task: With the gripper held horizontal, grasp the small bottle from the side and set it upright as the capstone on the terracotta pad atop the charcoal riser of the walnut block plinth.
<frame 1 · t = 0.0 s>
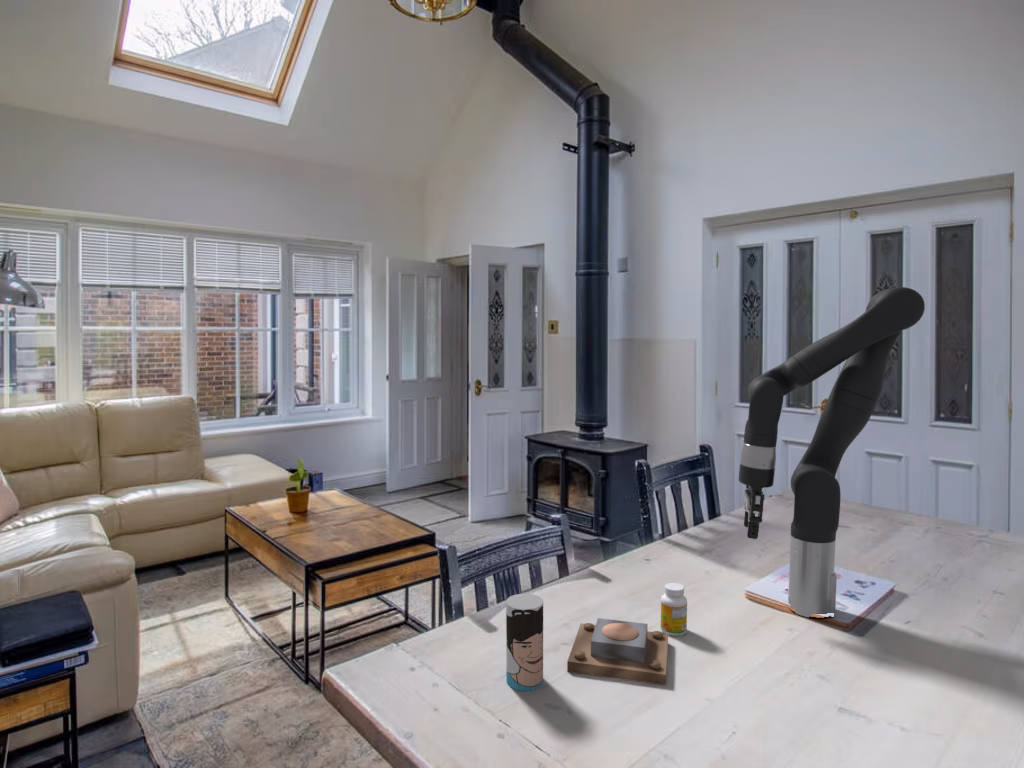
hand: (750, 532, 147), 17 cm above the table, tool pointing down, fingers open, 8 cm apart
plinth: (619, 656, 125), on the table
supplement bottle: (673, 631, 136), on the table
printed can: (524, 681, 116), on the table
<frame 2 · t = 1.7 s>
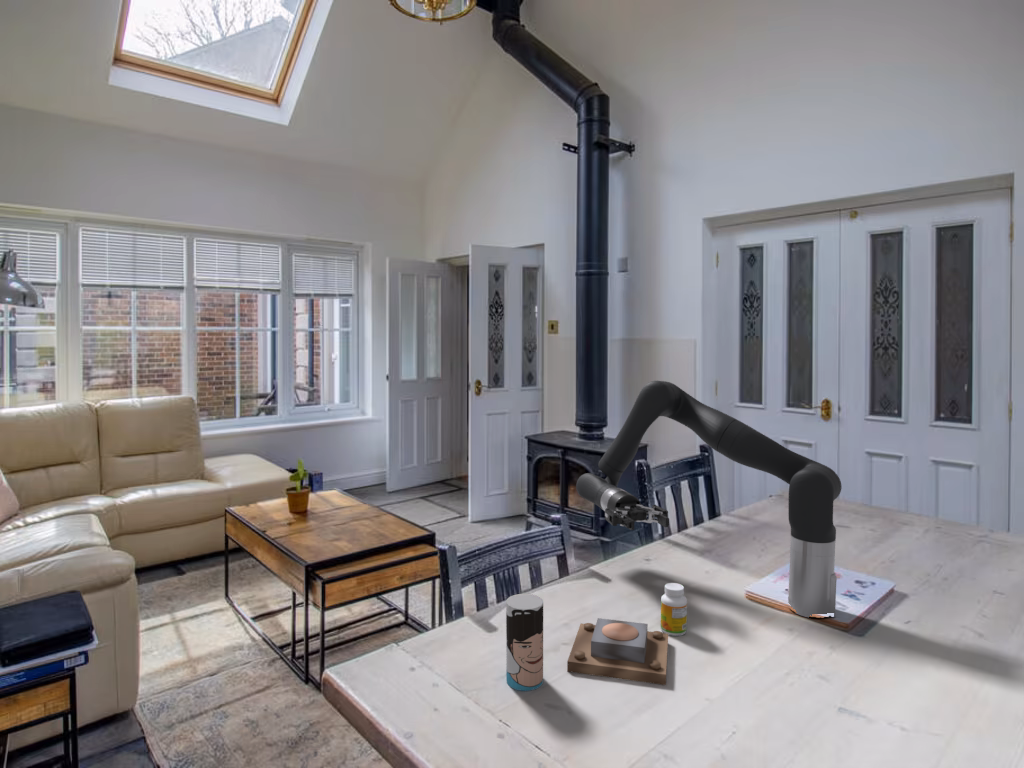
hand: (650, 524, 145), 20 cm above the table, tool horizontal, fingers open, 8 cm apart
nothing on the table moved.
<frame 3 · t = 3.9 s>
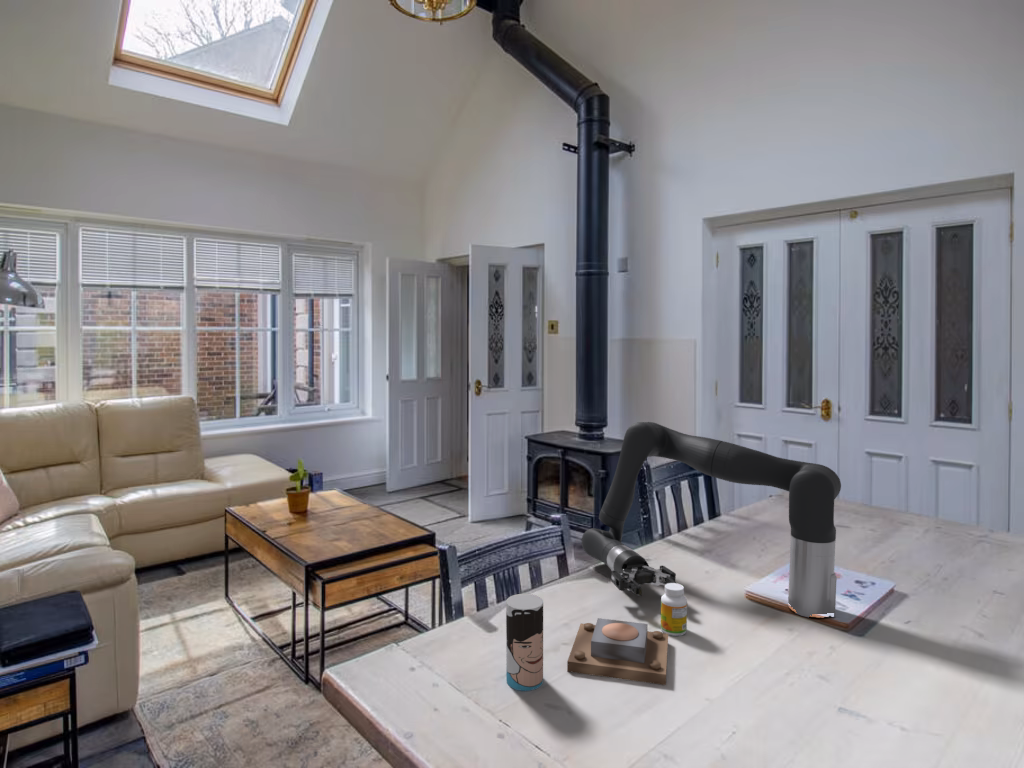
hand: (658, 589, 142), 6 cm above the table, tool horizontal, fingers open, 8 cm apart
nothing on the table moved.
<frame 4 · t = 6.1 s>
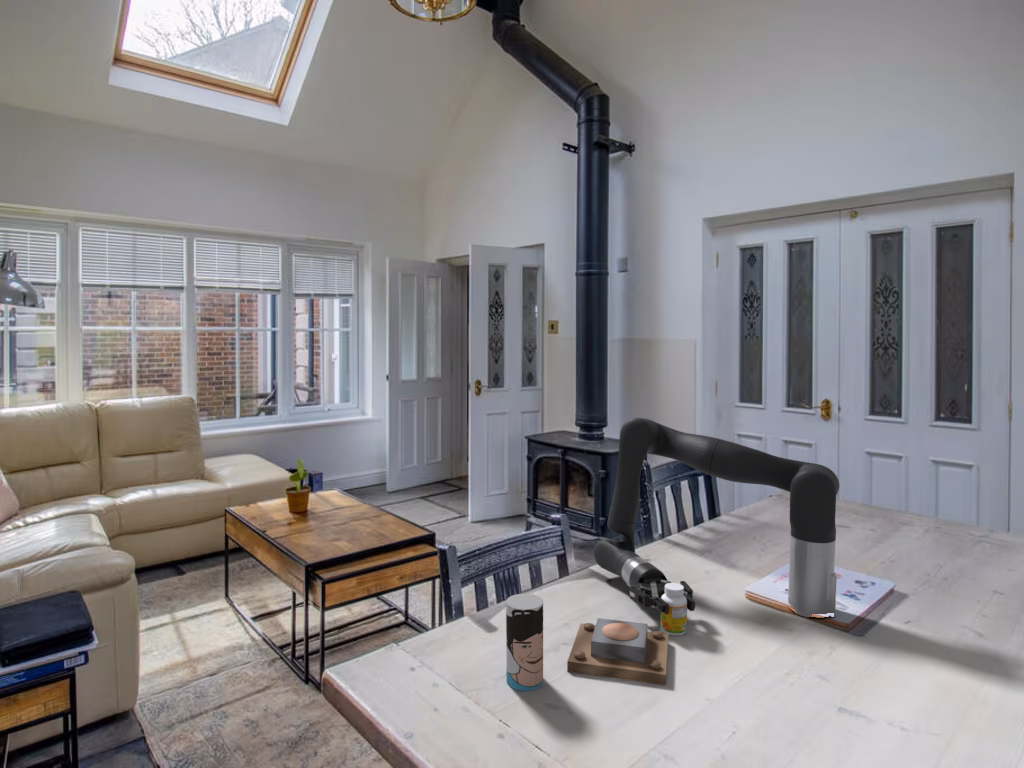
hand: (680, 608, 133), 6 cm above the table, tool horizontal, fingers closed on supplement bottle, 5 cm apart
supplement bottle: (673, 631, 136), on the table, touching gripper
everything else where it was.
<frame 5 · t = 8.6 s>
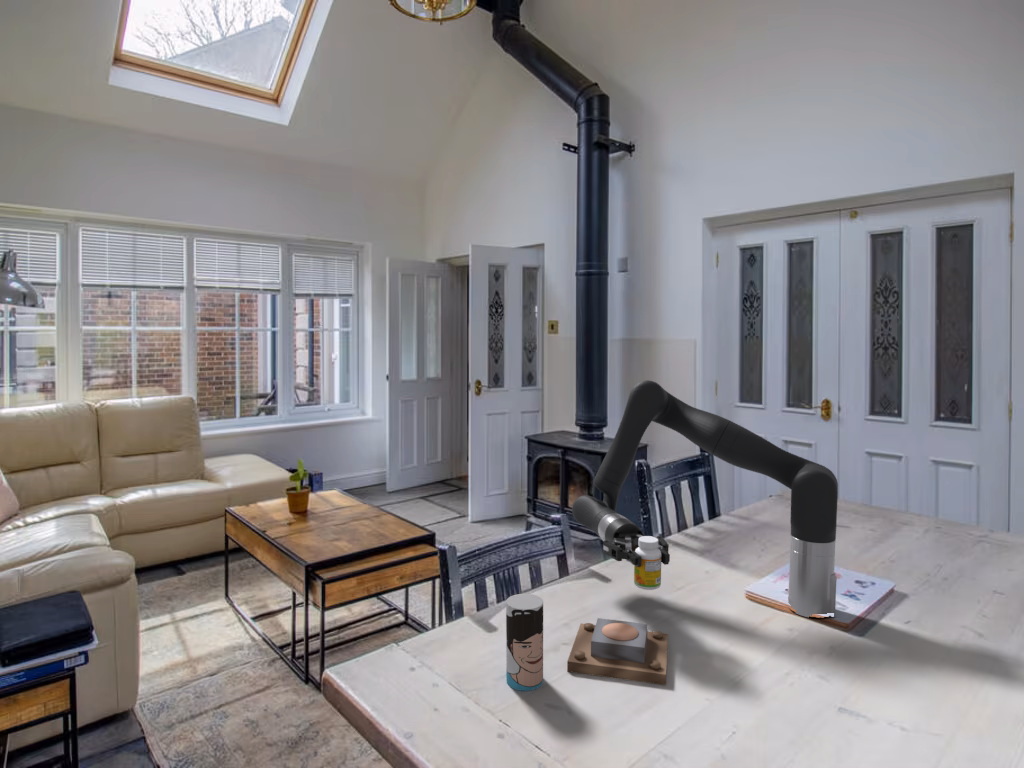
hand: (653, 561, 127), 18 cm above the table, tool horizontal, fingers closed on supplement bottle, 5 cm apart
supplement bottle: (647, 585, 130), point 12 cm above the table, touching gripper
everything else where it was.
when the fingers open (12 cm above the table, at t = 11.0 s): supplement bottle stays where it is, resting on plinth.
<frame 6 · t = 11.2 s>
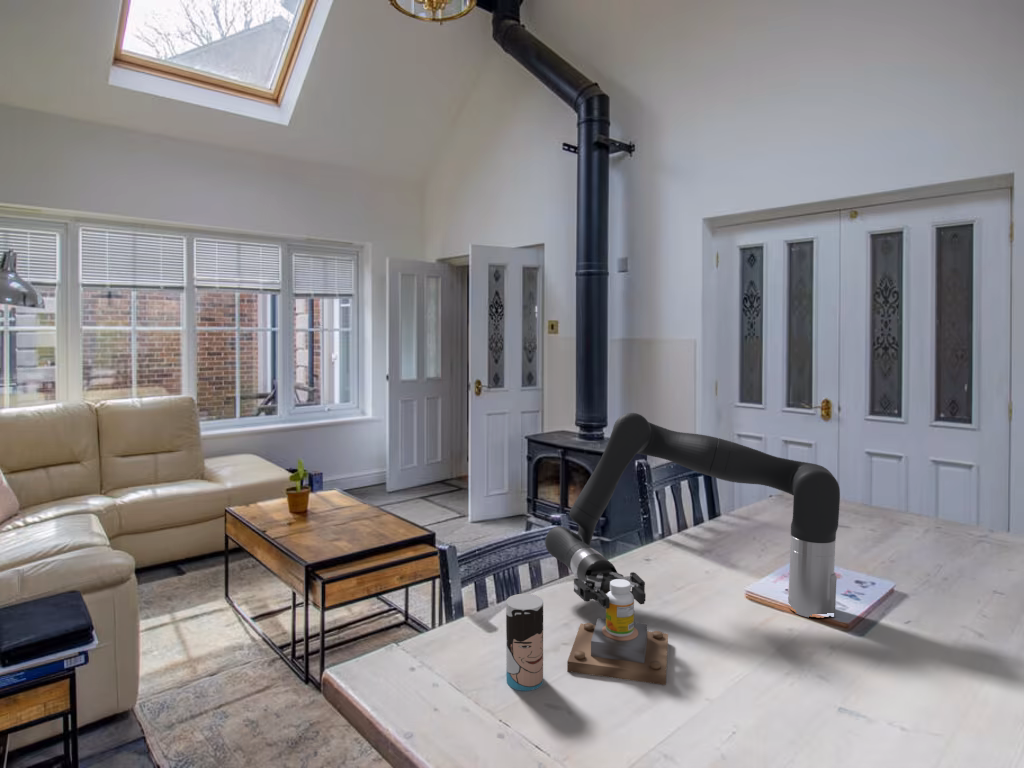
hand: (625, 601, 122), 12 cm above the table, tool horizontal, fingers open, 6 cm apart
supplement bottle: (619, 631, 124), point 5 cm above the table, touching plinth
everything else where it was.
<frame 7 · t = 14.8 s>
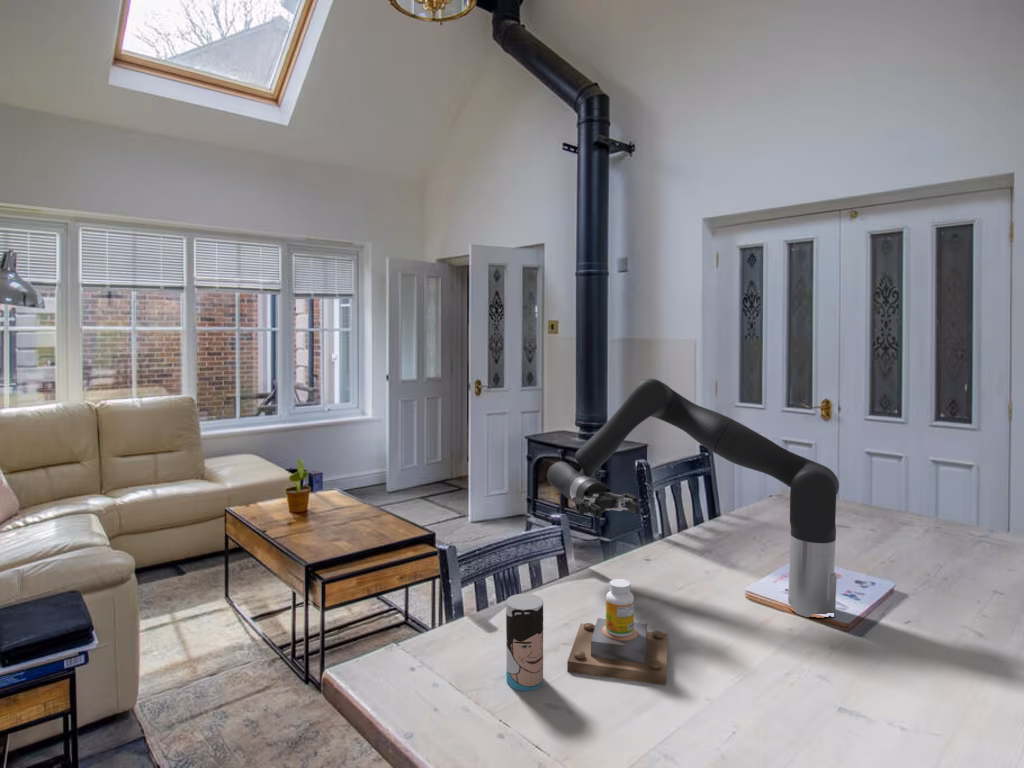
hand: (618, 511, 137), 25 cm above the table, tool horizontal, fingers open, 8 cm apart
nothing on the table moved.
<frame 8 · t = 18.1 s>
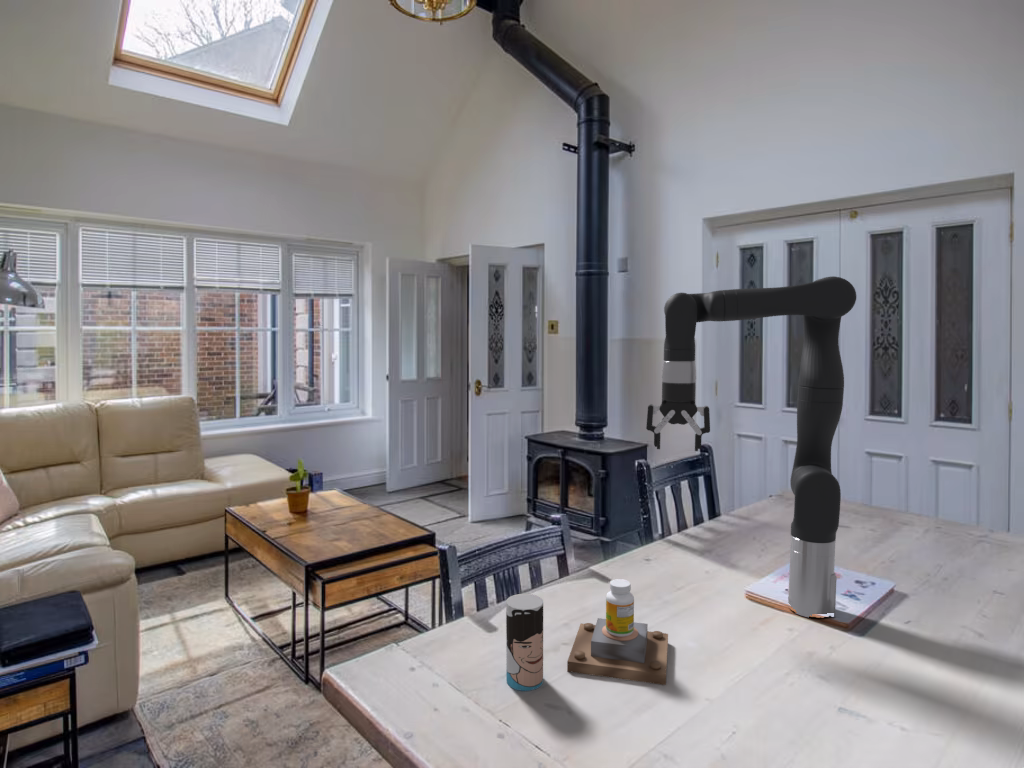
hand: (677, 449, 148), 36 cm above the table, tool pointing down, fingers open, 8 cm apart
nothing on the table moved.
at the end: supplement bottle inside the target area on the plinth (0.1 cm from its centre), point 5.0 cm above the plinth's base; supplement bottle tilted 0°; the gripper is holding nothing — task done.
